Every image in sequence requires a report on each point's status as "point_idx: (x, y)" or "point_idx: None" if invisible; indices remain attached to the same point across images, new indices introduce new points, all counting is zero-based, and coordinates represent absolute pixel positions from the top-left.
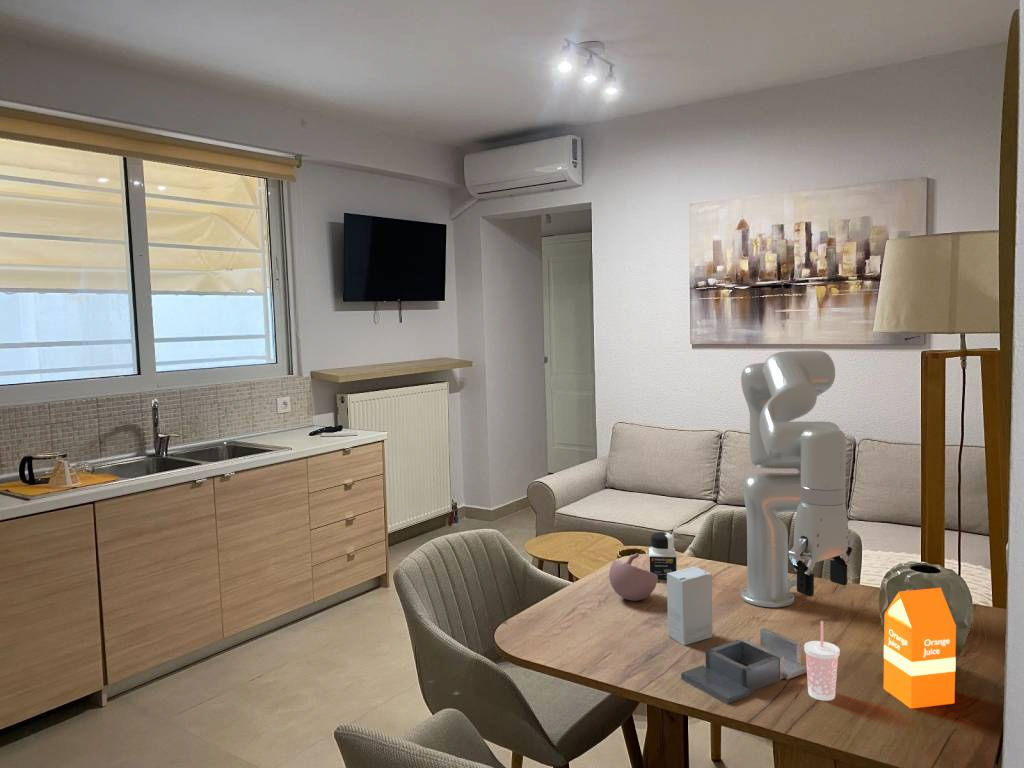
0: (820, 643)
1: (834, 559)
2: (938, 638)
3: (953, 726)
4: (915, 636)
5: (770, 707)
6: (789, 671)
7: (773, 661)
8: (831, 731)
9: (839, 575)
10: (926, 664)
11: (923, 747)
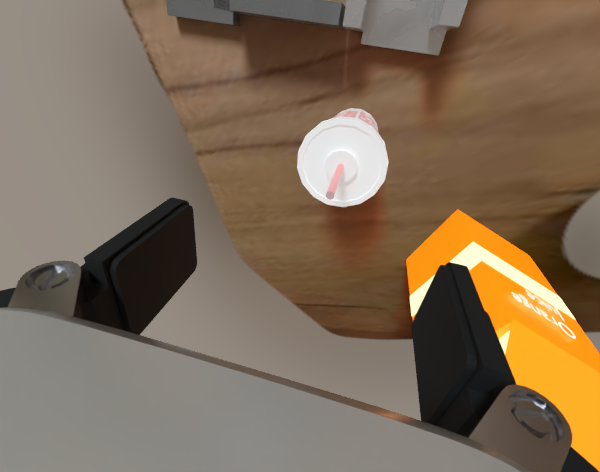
0: (337, 166)
1: (471, 407)
2: None
3: (389, 306)
4: None
5: (236, 89)
6: (381, 36)
7: (316, 22)
8: (252, 200)
9: (424, 341)
10: None
11: (308, 290)
